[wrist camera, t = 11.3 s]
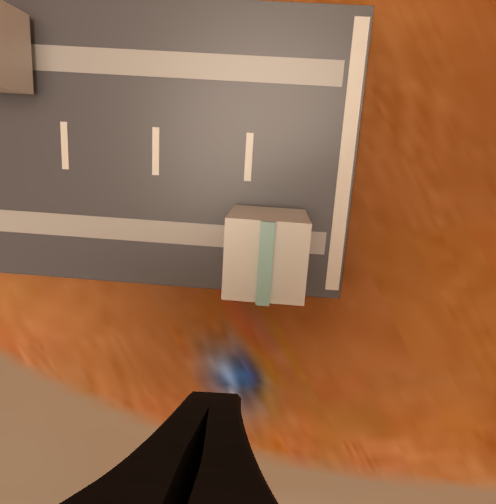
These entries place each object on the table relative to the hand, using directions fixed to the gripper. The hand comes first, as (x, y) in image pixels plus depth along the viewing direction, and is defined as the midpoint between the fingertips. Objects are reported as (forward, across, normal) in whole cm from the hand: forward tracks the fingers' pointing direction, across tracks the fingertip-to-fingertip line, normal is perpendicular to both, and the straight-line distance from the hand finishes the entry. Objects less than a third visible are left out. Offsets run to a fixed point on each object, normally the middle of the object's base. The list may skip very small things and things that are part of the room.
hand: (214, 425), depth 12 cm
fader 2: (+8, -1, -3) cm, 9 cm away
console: (+10, +4, -7) cm, 13 cm away
